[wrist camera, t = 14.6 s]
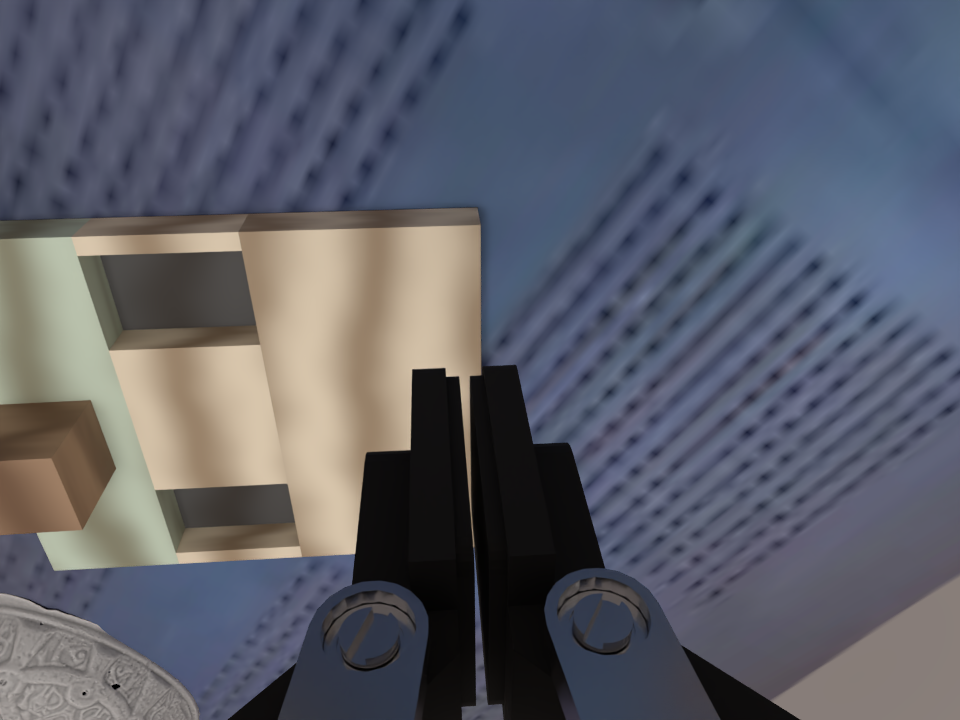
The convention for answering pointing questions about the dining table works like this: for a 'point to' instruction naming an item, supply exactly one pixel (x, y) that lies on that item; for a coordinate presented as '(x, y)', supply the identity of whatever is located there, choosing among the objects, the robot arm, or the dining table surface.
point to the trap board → (236, 366)
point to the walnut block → (51, 466)
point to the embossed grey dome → (78, 671)
